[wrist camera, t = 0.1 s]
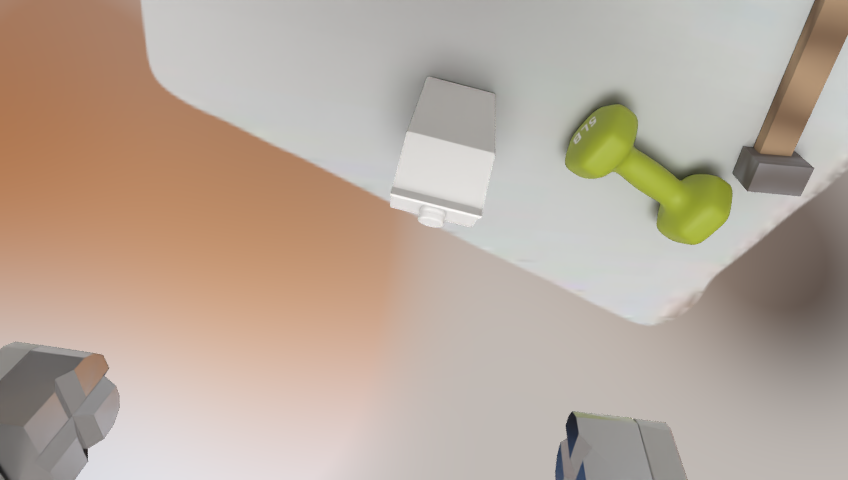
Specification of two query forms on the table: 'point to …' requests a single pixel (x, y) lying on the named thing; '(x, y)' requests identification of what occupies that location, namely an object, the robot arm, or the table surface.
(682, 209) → the dumbbell
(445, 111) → the milk carton
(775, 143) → the rail
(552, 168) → the table surface
